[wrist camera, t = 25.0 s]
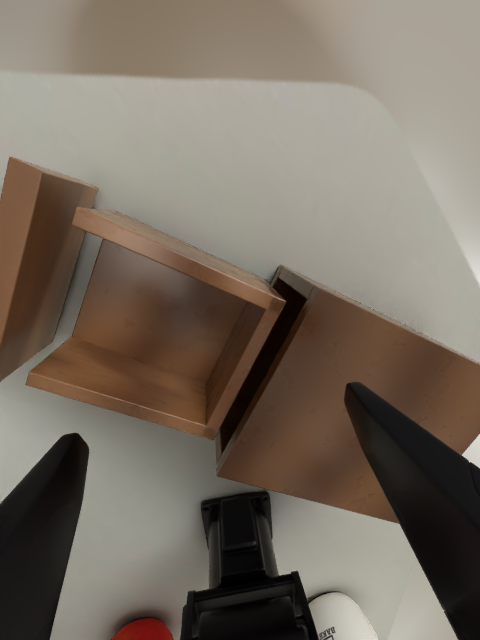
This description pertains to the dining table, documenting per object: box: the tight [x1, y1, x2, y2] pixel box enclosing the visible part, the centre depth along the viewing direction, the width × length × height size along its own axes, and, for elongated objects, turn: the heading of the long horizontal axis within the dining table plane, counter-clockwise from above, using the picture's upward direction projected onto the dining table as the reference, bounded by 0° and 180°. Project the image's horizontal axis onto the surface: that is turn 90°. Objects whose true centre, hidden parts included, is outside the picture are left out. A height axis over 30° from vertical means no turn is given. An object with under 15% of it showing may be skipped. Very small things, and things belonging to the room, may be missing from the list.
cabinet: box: [215, 265, 480, 524], centre depth 19 cm, size 14×12×8 cm
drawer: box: [0, 157, 286, 440], centre depth 15 cm, size 16×10×6 cm, turn 65°
